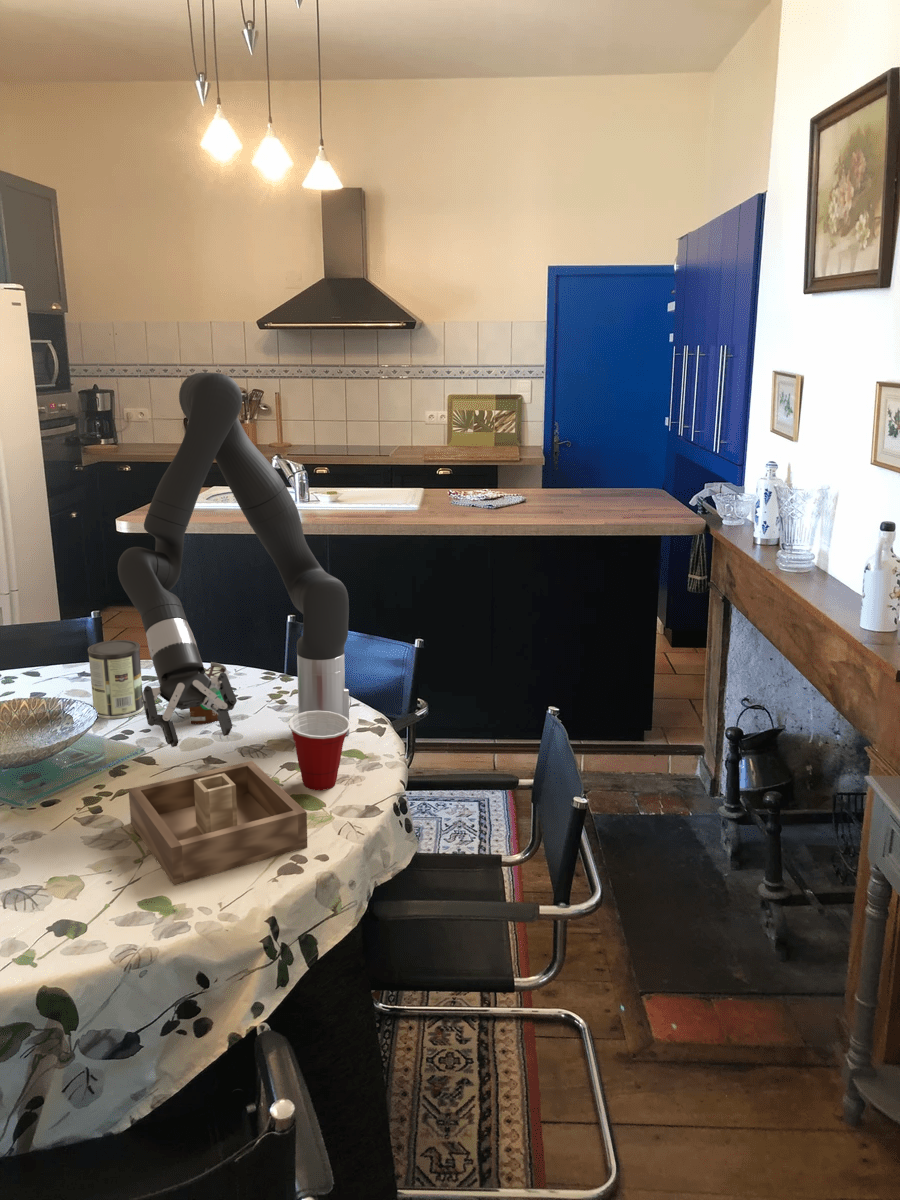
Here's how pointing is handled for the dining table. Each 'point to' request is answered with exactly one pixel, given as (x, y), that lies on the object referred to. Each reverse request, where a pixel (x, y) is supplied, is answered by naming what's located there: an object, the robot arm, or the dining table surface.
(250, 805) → the crate
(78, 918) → the dining table surface
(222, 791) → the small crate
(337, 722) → the plastic cup
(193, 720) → the food container
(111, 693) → the coffee can
